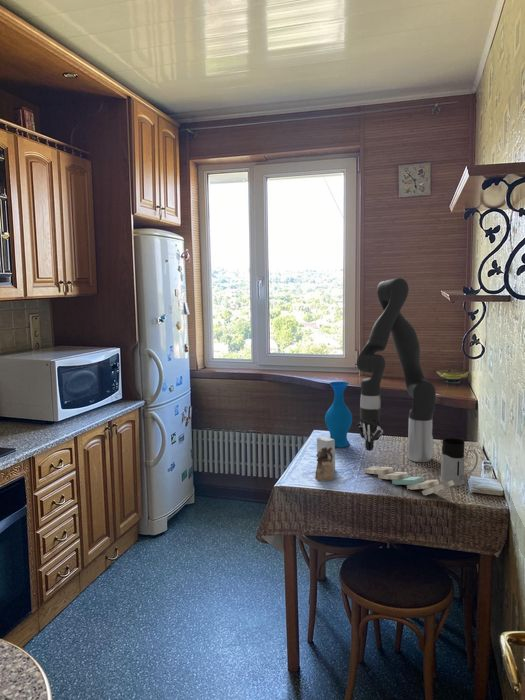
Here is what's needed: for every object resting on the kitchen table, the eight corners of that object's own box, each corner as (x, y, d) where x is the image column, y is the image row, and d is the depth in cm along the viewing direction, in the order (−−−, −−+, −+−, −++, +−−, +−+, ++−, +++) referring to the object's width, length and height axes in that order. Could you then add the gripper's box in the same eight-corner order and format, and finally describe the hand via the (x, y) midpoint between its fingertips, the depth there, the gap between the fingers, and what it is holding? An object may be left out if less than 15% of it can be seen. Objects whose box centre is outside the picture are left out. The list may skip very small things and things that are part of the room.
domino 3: (400, 477, 193) (422, 476, 185) (401, 481, 193) (423, 481, 185) (391, 480, 190) (413, 479, 182) (392, 484, 190) (414, 484, 182)
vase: (356, 442, 239) (357, 382, 235) (345, 450, 228) (346, 387, 224) (331, 439, 245) (331, 379, 241) (320, 446, 234) (320, 384, 230)
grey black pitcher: (449, 474, 199) (450, 436, 197) (483, 486, 187) (485, 445, 185) (434, 479, 194) (435, 440, 192) (468, 492, 182) (470, 450, 180)
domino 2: (386, 471, 199) (407, 472, 191) (387, 475, 199) (408, 476, 191) (377, 474, 196) (398, 475, 188) (378, 478, 196) (399, 479, 188)
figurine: (319, 473, 202) (319, 442, 200) (336, 476, 198) (337, 445, 197) (312, 479, 196) (312, 448, 194) (330, 482, 192) (330, 450, 191)
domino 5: (430, 488, 183) (452, 480, 176) (432, 492, 182) (454, 484, 175) (421, 491, 180) (443, 483, 173) (423, 496, 180) (445, 488, 172)
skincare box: (335, 469, 206) (335, 439, 204) (327, 471, 203) (327, 441, 201) (324, 465, 210) (324, 435, 209) (316, 467, 208) (316, 437, 206)
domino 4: (415, 482, 188) (438, 479, 180) (416, 486, 188) (439, 484, 180) (406, 485, 185) (428, 483, 177) (407, 489, 185) (430, 487, 177)
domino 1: (373, 466, 204) (393, 467, 196) (373, 470, 204) (393, 471, 196) (364, 469, 201) (384, 470, 193) (364, 473, 201) (384, 474, 193)
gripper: (350, 404, 203) (349, 447, 205) (376, 410, 192) (375, 456, 194) (364, 401, 207) (363, 444, 209) (390, 407, 196) (389, 452, 199)
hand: (369, 450), depth 202 cm, fingers closed
